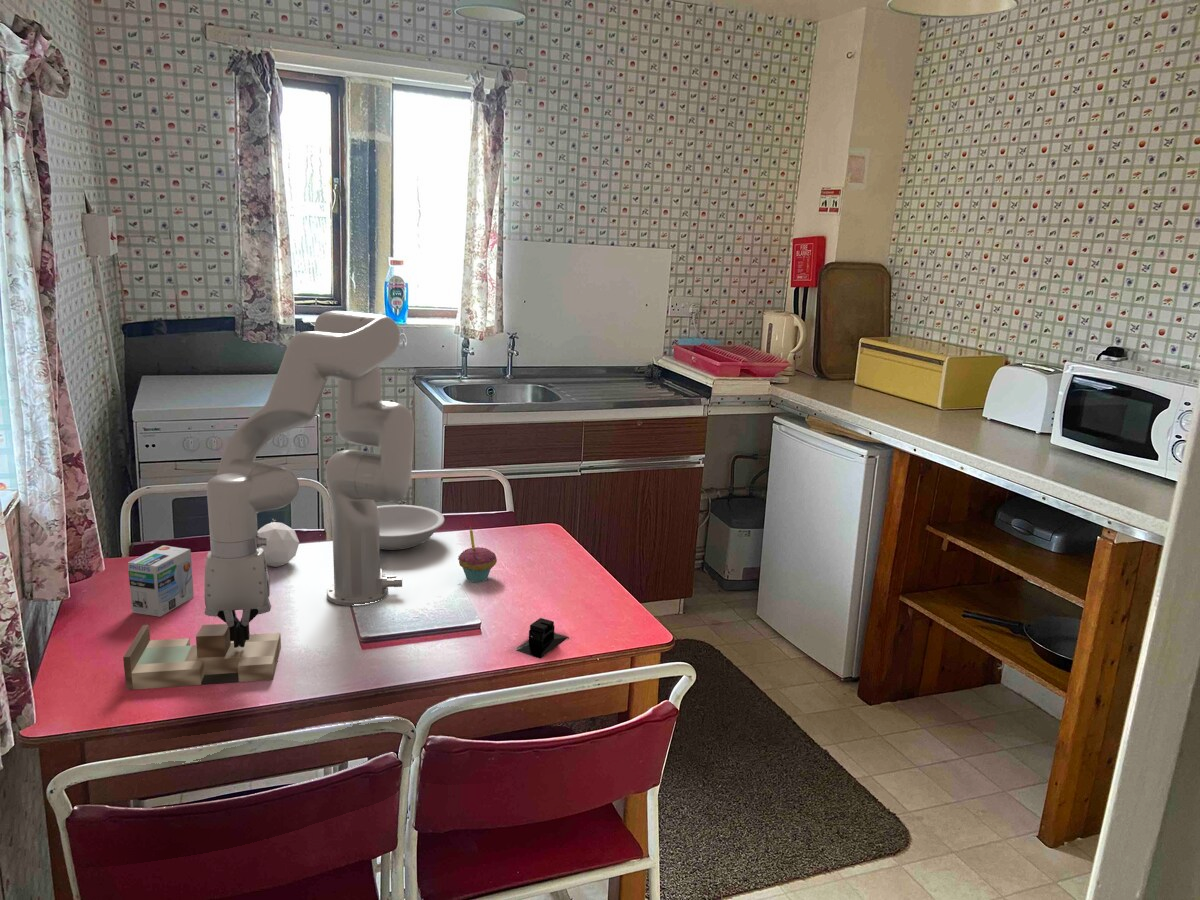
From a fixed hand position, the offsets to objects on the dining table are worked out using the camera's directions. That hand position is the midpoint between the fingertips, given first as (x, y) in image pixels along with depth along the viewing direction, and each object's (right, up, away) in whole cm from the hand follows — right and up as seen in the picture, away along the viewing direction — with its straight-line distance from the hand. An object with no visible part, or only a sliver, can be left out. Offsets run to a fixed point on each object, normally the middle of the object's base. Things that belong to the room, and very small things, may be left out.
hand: (240, 643), depth 153 cm
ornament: (-12, +8, +49) cm, 51 cm away
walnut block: (-4, -1, 0) cm, 5 cm away
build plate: (+52, -4, +15) cm, 54 cm away
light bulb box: (-25, +2, +24) cm, 35 cm away
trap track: (-6, -4, 0) cm, 7 cm away
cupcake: (+36, +5, +44) cm, 57 cm away
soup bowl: (+13, +11, +63) cm, 65 cm away
